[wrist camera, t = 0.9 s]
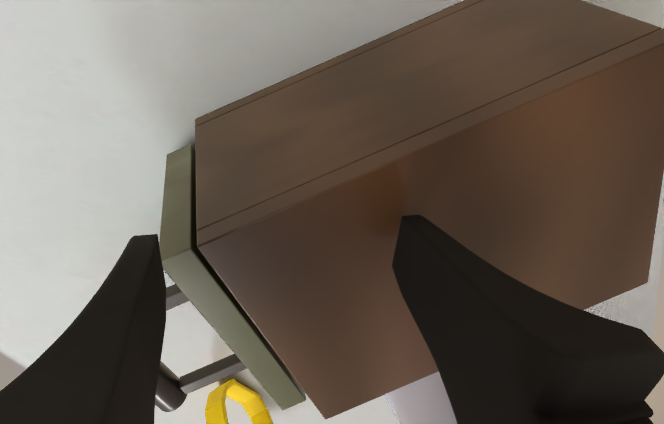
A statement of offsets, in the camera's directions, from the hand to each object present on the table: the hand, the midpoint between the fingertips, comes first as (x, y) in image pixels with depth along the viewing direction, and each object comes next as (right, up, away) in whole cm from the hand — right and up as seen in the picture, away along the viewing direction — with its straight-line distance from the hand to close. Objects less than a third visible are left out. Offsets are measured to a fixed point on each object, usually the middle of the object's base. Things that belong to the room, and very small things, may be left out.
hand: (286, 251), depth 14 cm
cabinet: (+4, +4, +11) cm, 12 cm away
